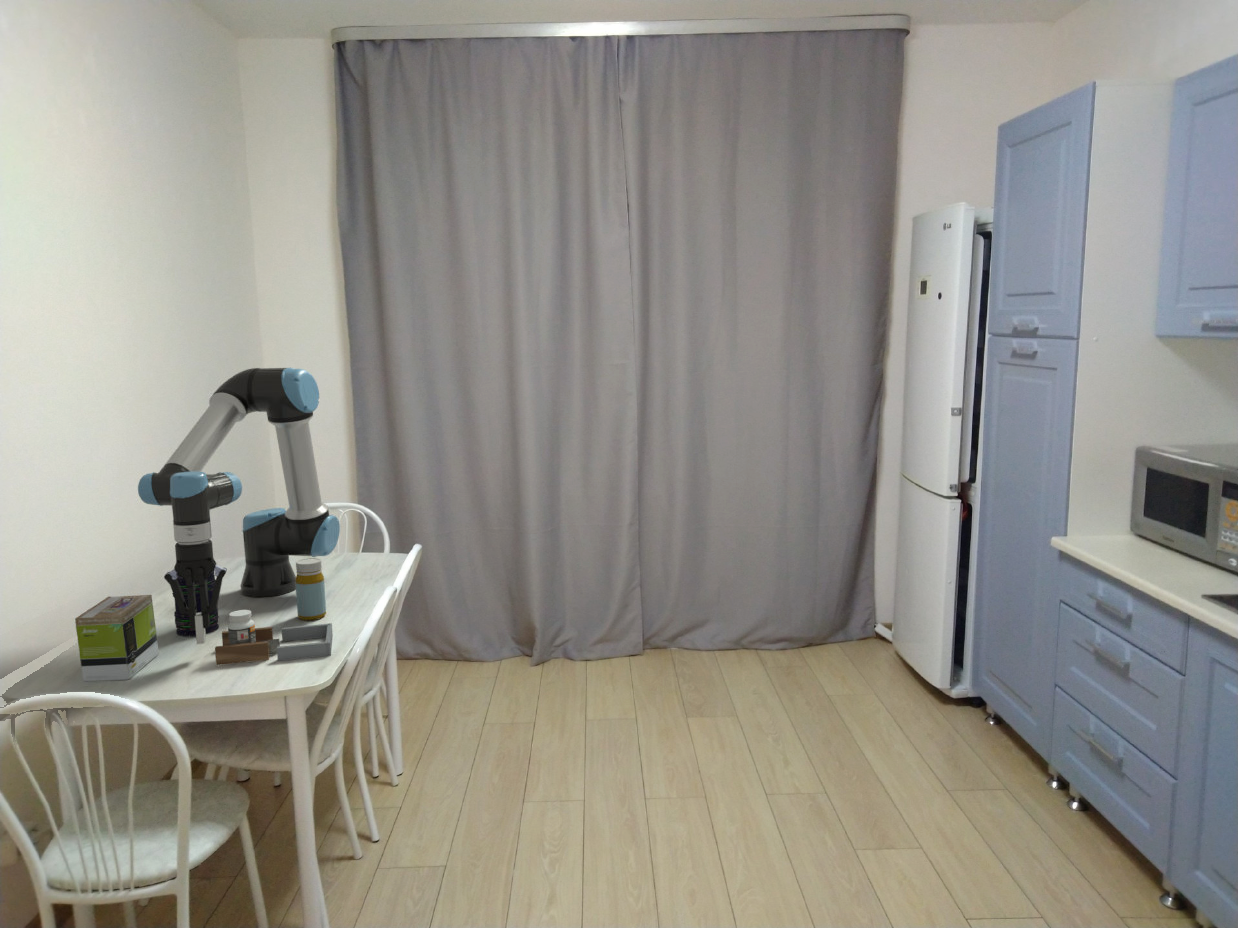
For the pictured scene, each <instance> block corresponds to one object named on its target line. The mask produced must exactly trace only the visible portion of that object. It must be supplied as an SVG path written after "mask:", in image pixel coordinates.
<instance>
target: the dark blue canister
mask: <svg viewBox="0 0 1238 928" xmlns="http://www.w3.org/2000/svg"><path fill="white" fill-rule="evenodd" d="M177 576H178V577H177V580H178V582H179V585H180V588H181V591H182V593H183V596H184V599H185V602H186V604H187V607H188V595H187V587H186V581H185V580H184V579H183V578H182V577H181V576H180V575H179V574H178V573H177ZM215 580H216V576H215V571H214V570H213V571H212V573H211V574H210V576H209V577H208V579H207V590H208V602H209V606H210V605H211V601H212V596H213V591H214V585H215ZM171 594H172V598H174V599H173V600H174V608H175V611H174V613H173V614H174V624H175V628H176V635H177V636H180V637H184V638H185V637H186V638H187V637H188V638H189V637H190V638H191V637H194V638H195V637H196V629H191V627H190V617H189V615H187V614H181V613H180V611H179V608H178V605H177V603H176V600H175V597H174V594H173V592H172V593H171ZM195 595H196V608H197V611H196V613H202V612H201V600H200V588H199V582H197V581H195ZM219 617H220V616H219V608H218V606H217V608H216V610H215V611H214V612H210V613H209V620H210V625H209V627H208V628H205V633H206V635H210V634H212V633H215V632H216V631H217V630H219V628H220V625H219Z"/></svg>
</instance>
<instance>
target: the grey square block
mask: <svg viewBox="0 0 1238 928" xmlns="http://www.w3.org/2000/svg"><path fill="white" fill-rule="evenodd" d="M265 641H268V647H269V656H271V655H272V656H273V655H277V647H279V646H281V645H280V644H281V643H280V638H273V639H271V640H261V642H265Z"/></svg>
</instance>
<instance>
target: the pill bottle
mask: <svg viewBox="0 0 1238 928" xmlns="http://www.w3.org/2000/svg"><path fill="white" fill-rule="evenodd" d="M228 616H229V617H228V619H229V620H230V622H229V623H228V625H227V631H228V635H229V645H235V644H245V643H255V642H256V635H255V628H256V626H255V621H254V620H253V619H251V618H252V611H251V610H250V609H239V610H235V611H232V612H230V613H229V614H228Z"/></svg>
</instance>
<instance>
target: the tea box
mask: <svg viewBox="0 0 1238 928" xmlns="http://www.w3.org/2000/svg"><path fill="white" fill-rule="evenodd" d="M153 604H154V603H153V595H152V594H144V595H143V594H142V595H124V596H122V595H120V596H107V597H105V599H104V598H103V600H101V601H100V602H97V604H95V605H94V606H92V607H90V608H88V610H86V611H83V613H81V614H80V615H78V616H77V617H75V630H76V636H77V645H78V651H79V659H80V666H81V669H80V670H81V676H82V681H83V682H85V683H86V682H88V683H89V682H109V681H110V682H112V681H125V680H131V678H132V677H133V676H135V675H136V674H138V672H139V671H141V669H143V668H144V667H145V666H146V665H148V664H149V663H150V662H151V661H152V660H153V659H154V658H156V657H157V656H158V655H159V645H158V644H159V643H158V638H157V628H156V620H155V619H156V618H155V611H154V605H153Z"/></svg>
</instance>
